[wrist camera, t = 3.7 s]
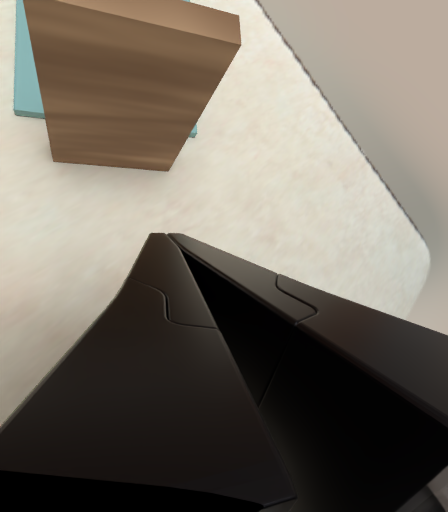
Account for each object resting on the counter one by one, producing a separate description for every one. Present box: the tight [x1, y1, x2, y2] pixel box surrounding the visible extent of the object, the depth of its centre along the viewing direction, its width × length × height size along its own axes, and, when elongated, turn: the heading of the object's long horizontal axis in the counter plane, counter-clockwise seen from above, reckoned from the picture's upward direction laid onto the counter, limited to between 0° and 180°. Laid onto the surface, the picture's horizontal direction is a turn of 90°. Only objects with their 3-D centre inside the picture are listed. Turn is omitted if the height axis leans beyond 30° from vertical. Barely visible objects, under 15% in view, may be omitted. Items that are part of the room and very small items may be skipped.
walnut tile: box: [23, 0, 241, 171], centre depth 17 cm, size 1×7×12 cm, turn 94°
